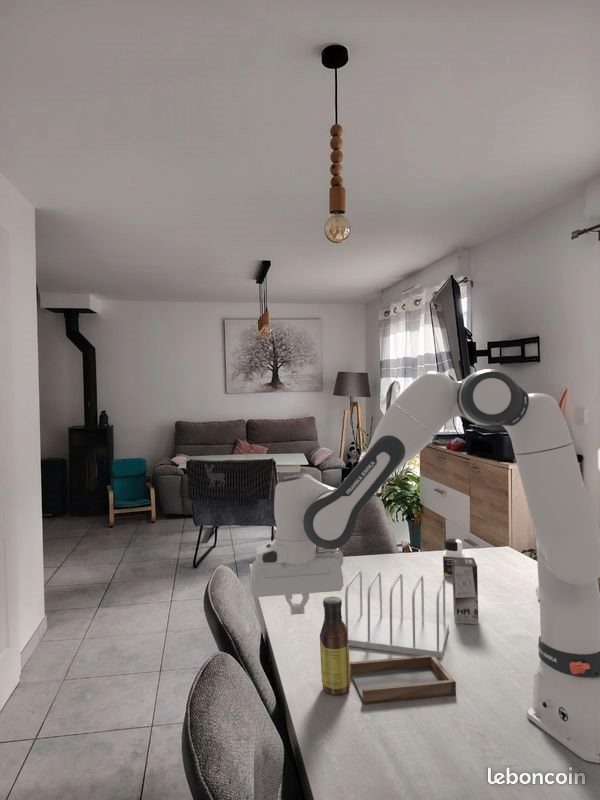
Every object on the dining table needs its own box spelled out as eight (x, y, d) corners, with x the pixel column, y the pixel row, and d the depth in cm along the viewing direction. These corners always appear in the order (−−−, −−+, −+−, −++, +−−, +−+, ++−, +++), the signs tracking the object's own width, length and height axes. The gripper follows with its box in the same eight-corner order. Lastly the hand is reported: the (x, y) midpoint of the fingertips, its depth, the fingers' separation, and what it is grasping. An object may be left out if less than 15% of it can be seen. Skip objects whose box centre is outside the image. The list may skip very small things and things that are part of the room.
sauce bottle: (333, 679, 128) (330, 591, 128) (356, 687, 124) (353, 597, 124) (315, 691, 123) (312, 600, 123) (338, 700, 119) (336, 606, 119)
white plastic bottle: (443, 575, 199) (442, 541, 199) (444, 569, 206) (443, 536, 206) (464, 577, 197) (463, 542, 197) (464, 571, 203) (463, 537, 203)
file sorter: (342, 646, 145) (340, 585, 145) (358, 620, 161) (357, 566, 161) (442, 659, 136) (440, 594, 136) (448, 630, 153) (447, 573, 153)
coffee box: (479, 624, 156) (477, 566, 156) (455, 623, 157) (453, 565, 157) (475, 612, 165) (474, 557, 164) (453, 611, 166) (451, 556, 166)
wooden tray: (456, 695, 119) (455, 681, 119) (363, 704, 117) (363, 690, 117) (433, 666, 132) (433, 654, 132) (350, 674, 130) (349, 662, 130)
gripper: (339, 542, 127) (341, 604, 127) (248, 548, 124) (250, 611, 124) (345, 550, 120) (347, 615, 120) (249, 556, 118) (251, 622, 118)
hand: (297, 613), depth 122 cm, fingers closed
